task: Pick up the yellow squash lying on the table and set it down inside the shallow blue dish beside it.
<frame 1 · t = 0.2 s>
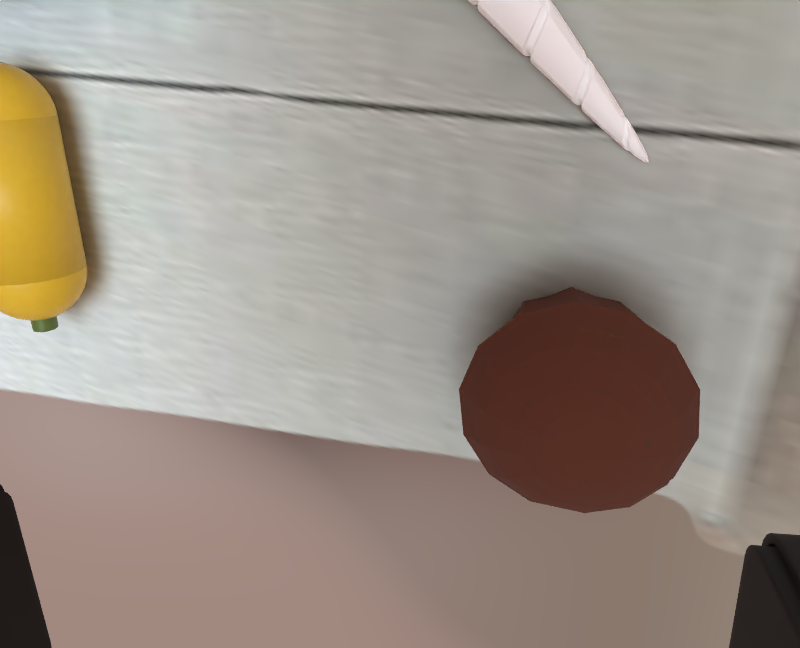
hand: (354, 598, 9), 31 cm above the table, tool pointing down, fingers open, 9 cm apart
muffin: (567, 358, 40), on the table
squash: (48, 188, 42), on the table
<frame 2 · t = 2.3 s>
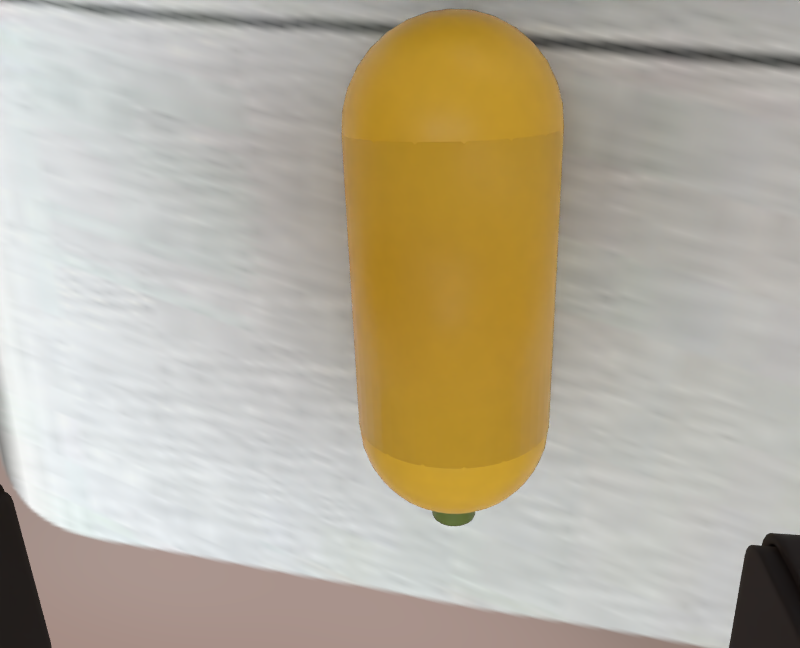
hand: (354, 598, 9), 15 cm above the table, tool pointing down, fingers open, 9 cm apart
squash: (460, 256, 23), on the table
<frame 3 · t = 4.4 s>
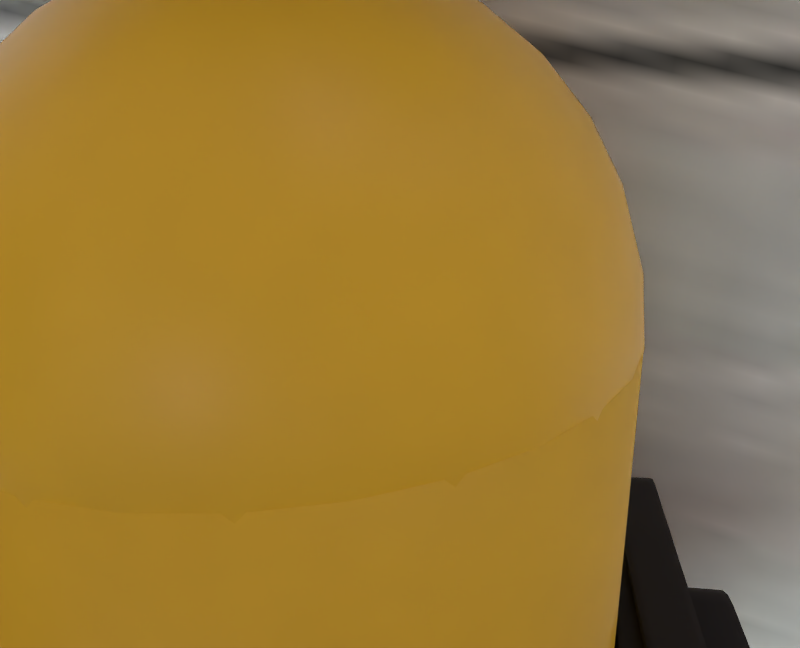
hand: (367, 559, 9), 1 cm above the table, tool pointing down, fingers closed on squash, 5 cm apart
squash: (378, 521, 10), on the table, touching gripper
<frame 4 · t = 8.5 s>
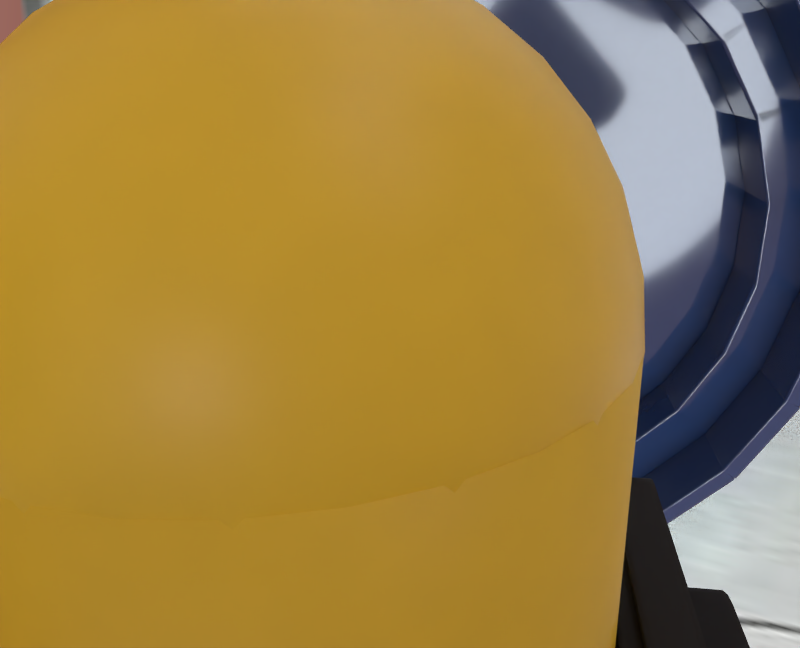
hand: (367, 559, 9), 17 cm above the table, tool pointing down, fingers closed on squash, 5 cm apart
shallow blue dish: (458, 222, 25), on the table
squash: (378, 523, 10), point 16 cm above the table, touching gripper
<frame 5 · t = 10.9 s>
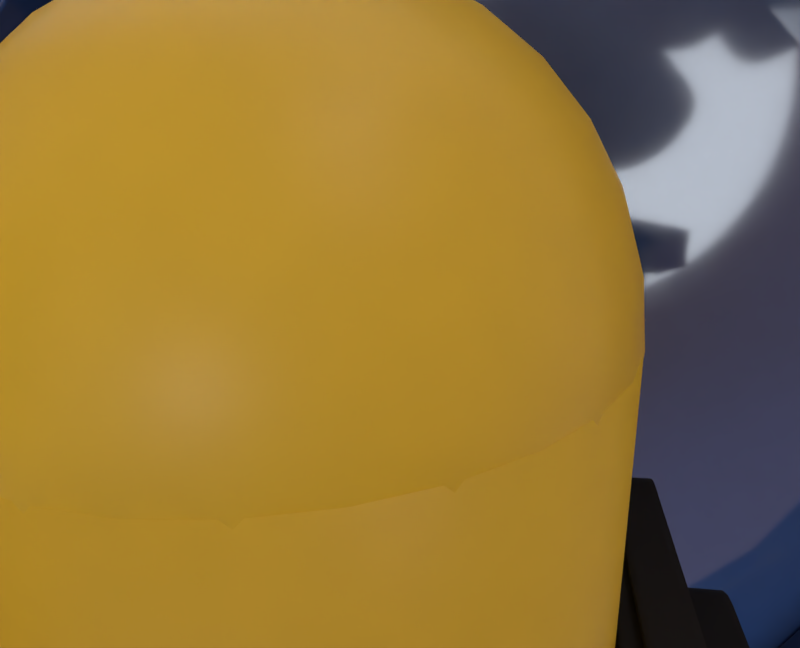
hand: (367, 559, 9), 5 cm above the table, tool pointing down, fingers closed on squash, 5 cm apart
shallow blue dish: (426, 382, 14), on the table
squash: (378, 523, 10), point 5 cm above the table, touching gripper
when the fingers open (1 cm above the table, at t = 12.6 s): squash stays where it is, resting on shallow blue dish.
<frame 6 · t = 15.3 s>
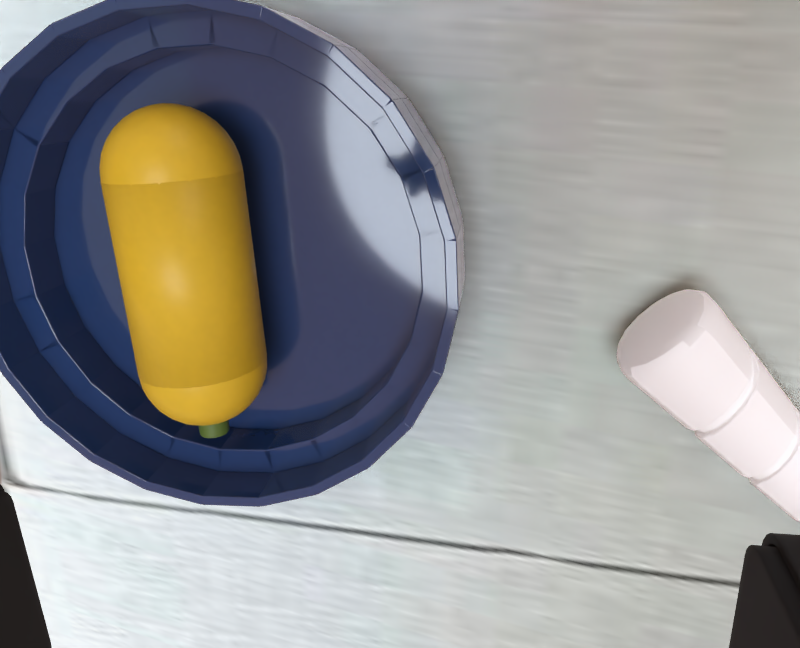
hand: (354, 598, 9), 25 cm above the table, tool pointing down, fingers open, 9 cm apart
unicorn horn: (798, 459, 33), on the table
shallow blue dish: (238, 253, 34), on the table
squash: (232, 257, 33), point 1 cm above the table, tilted 19°, touching shallow blue dish
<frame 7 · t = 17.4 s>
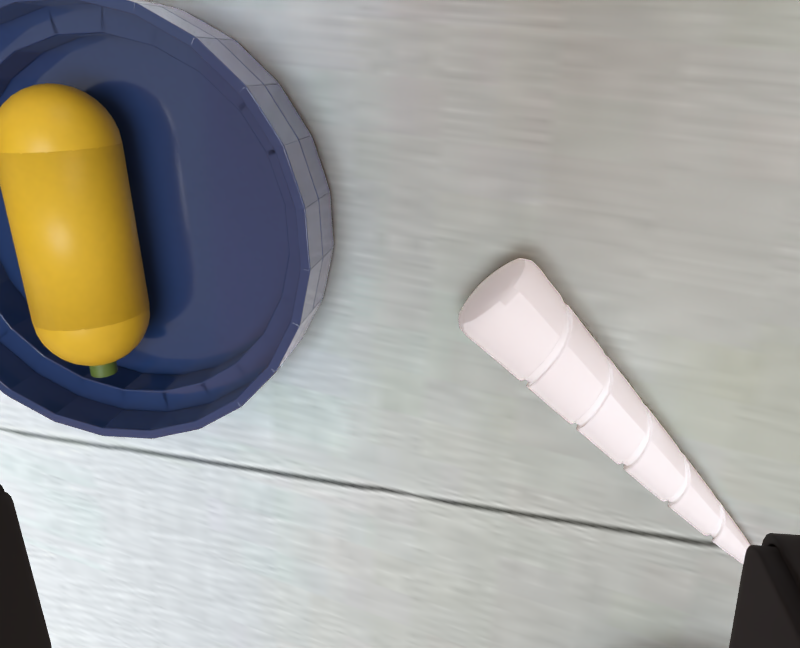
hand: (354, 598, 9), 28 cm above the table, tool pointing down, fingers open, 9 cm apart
unicorn horn: (627, 412, 38), on the table
shallow blue dish: (141, 217, 38), on the table
squash: (129, 222, 37), point 1 cm above the table, tilted 33°, touching shallow blue dish
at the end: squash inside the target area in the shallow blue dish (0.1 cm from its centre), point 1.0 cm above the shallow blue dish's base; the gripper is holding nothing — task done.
